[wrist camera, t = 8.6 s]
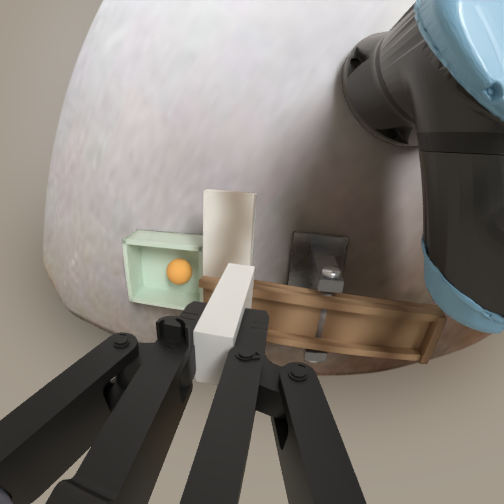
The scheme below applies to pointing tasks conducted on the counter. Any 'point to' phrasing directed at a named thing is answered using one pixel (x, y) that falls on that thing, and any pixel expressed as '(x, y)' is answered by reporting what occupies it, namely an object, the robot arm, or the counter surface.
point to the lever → (313, 297)
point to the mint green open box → (162, 267)
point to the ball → (179, 271)
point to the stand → (317, 269)
